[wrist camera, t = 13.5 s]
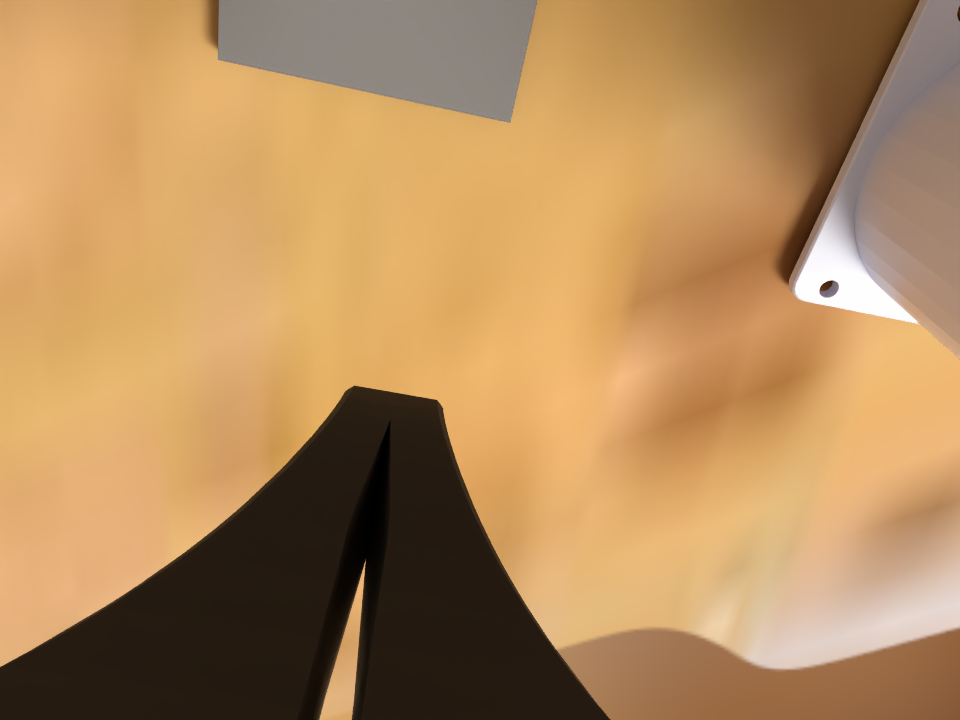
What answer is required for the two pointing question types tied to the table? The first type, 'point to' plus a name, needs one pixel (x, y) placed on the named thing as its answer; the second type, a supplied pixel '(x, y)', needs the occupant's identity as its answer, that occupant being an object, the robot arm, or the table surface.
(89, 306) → the table surface
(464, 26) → the rubber pad
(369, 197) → the table surface
